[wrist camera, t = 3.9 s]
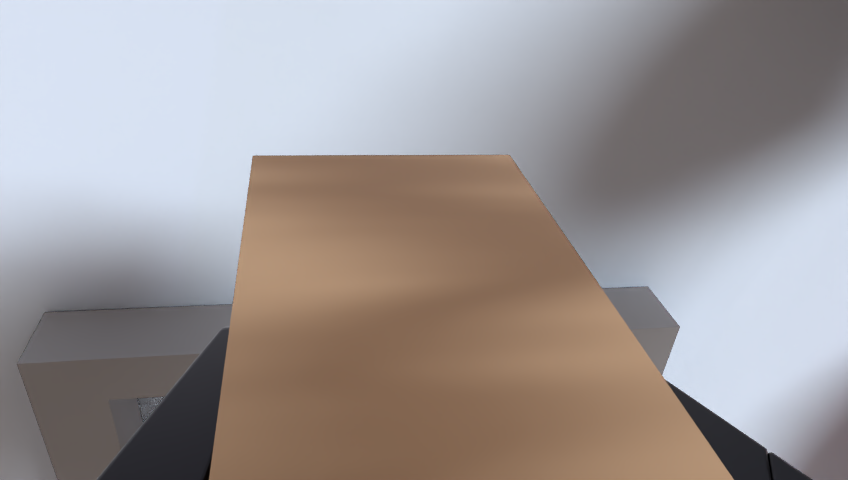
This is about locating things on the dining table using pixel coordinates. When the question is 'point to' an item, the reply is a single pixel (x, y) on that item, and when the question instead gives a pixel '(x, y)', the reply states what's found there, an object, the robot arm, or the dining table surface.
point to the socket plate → (175, 368)
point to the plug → (431, 336)
